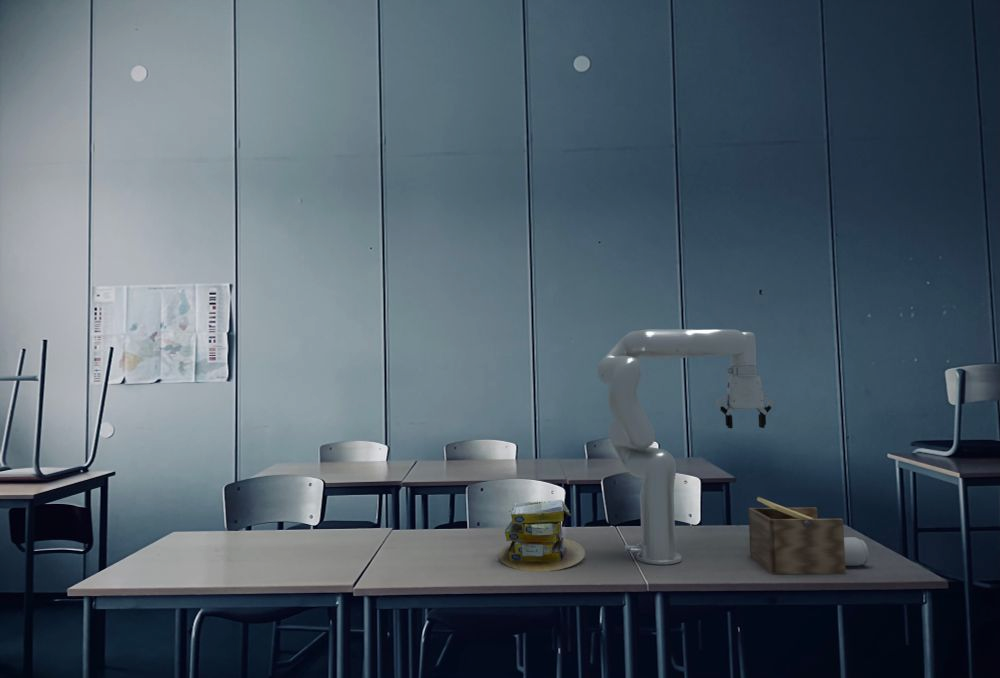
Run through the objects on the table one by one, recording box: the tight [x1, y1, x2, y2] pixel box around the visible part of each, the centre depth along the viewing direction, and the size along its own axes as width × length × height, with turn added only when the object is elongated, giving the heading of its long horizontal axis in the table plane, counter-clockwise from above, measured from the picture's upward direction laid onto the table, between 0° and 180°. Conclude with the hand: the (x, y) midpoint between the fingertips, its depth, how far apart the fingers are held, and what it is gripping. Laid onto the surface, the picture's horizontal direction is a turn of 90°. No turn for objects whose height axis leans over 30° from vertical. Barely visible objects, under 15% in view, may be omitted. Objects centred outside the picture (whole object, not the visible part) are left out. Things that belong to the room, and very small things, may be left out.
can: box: [844, 536, 870, 567], centre depth 185 cm, size 8×8×12 cm
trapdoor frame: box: [748, 506, 847, 575], centre depth 186 cm, size 19×19×14 cm
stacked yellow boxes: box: [498, 499, 586, 572], centre depth 197 cm, size 25×25×17 cm
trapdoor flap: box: [756, 496, 813, 519], centre depth 187 cm, size 16×14×1 cm
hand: (745, 427), depth 207 cm, fingers open, 9 cm apart
